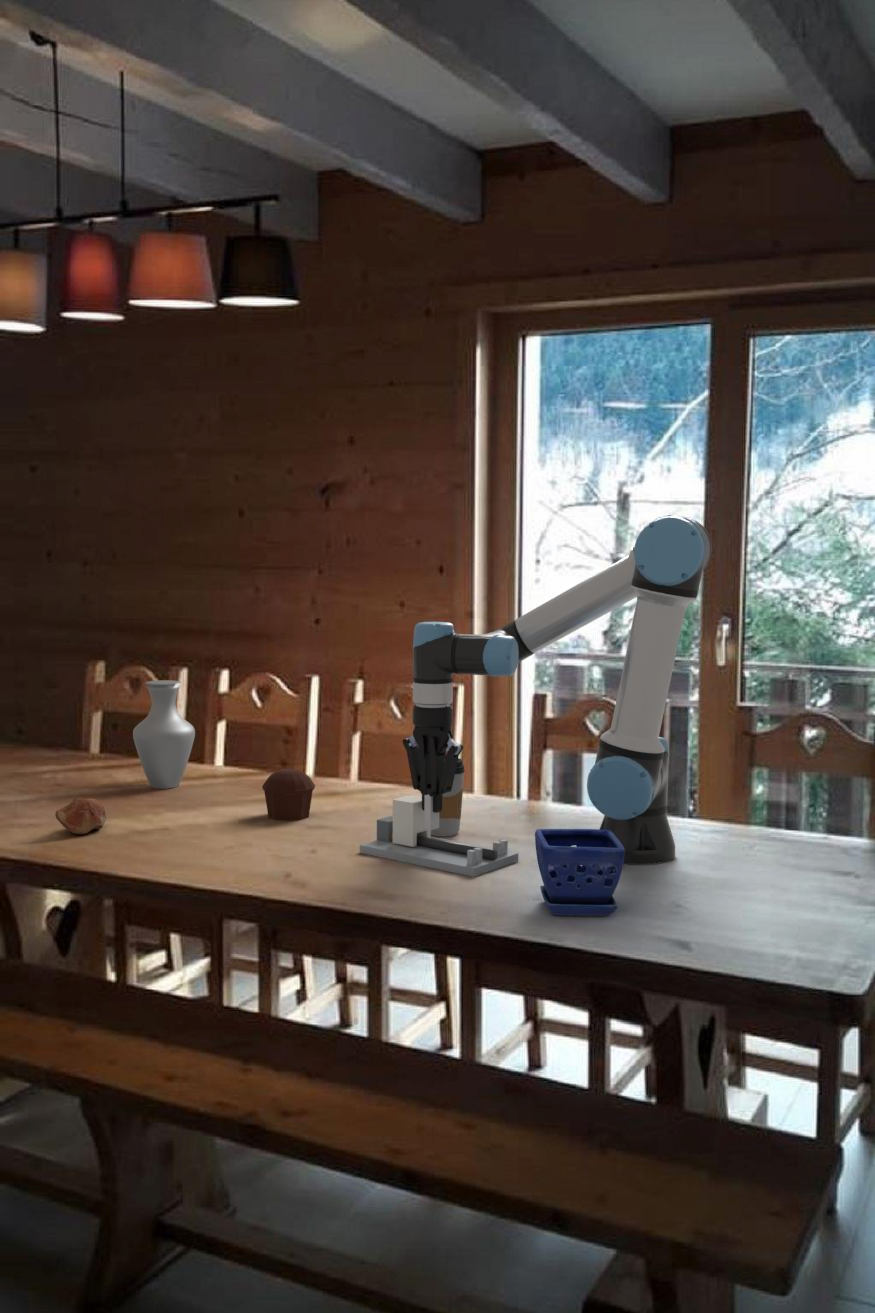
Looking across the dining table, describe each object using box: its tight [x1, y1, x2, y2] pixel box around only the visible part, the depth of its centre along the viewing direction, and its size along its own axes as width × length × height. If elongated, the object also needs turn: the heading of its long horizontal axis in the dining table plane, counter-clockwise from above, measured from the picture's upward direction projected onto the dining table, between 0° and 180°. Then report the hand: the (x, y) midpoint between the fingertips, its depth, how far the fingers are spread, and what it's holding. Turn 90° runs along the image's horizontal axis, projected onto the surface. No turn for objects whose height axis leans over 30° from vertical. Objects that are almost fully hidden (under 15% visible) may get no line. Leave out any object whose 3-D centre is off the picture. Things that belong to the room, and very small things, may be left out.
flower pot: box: [534, 828, 625, 917], centre depth 213 cm, size 13×13×12 cm
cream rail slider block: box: [392, 794, 432, 847], centre depth 249 cm, size 5×5×8 cm
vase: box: [132, 679, 196, 790], centre depth 309 cm, size 14×14×25 cm
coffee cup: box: [431, 757, 466, 837], centre depth 264 cm, size 8×8×15 cm
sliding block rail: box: [359, 815, 519, 877], centre depth 246 cm, size 27×14×6 cm, turn 52°
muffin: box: [261, 768, 316, 822], centre depth 279 cm, size 12×11×10 cm
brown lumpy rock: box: [54, 796, 107, 835], centre depth 264 cm, size 13×8×10 cm
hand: (431, 828), depth 246 cm, fingers closed
